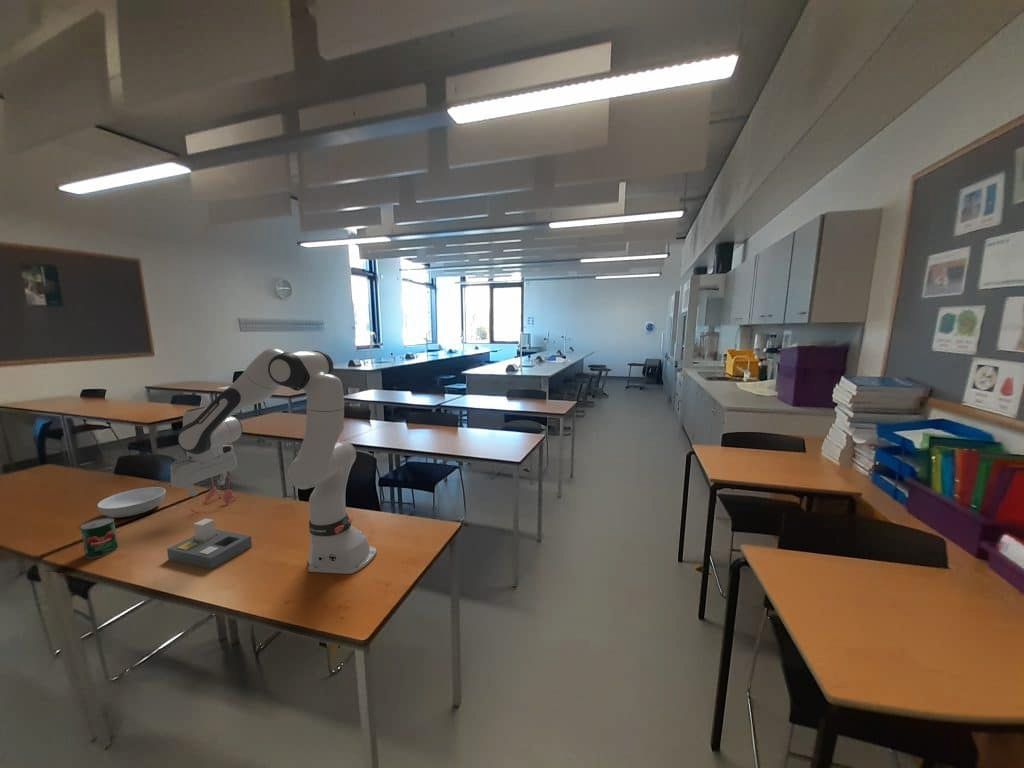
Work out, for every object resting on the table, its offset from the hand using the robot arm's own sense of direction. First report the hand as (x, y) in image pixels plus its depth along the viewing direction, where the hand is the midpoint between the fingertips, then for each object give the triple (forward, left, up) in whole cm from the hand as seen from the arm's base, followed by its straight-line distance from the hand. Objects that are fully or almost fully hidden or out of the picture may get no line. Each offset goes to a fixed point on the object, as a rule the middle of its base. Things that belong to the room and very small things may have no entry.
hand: (208, 489), depth 133 cm
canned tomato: (+34, +14, -22) cm, 43 cm away
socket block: (-4, +4, -21) cm, 22 cm away
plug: (+1, +2, -22) cm, 22 cm away
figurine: (+34, -24, -22) cm, 47 cm away
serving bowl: (+60, -10, -22) cm, 65 cm away
